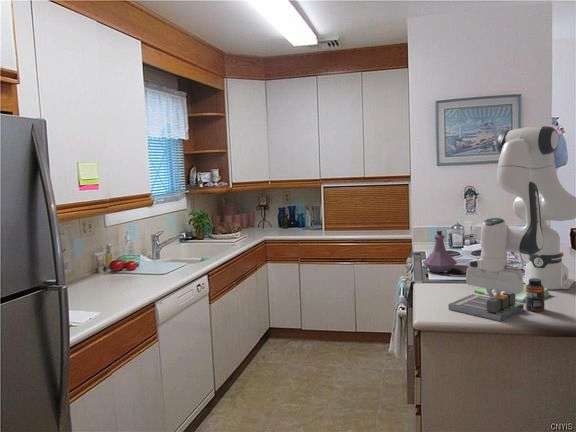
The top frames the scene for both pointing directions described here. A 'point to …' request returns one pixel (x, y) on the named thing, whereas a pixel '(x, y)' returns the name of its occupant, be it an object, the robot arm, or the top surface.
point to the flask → (439, 256)
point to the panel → (483, 308)
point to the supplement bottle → (535, 295)
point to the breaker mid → (503, 300)
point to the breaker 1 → (493, 305)
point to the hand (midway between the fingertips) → (493, 300)
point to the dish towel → (518, 297)
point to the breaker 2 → (510, 297)
